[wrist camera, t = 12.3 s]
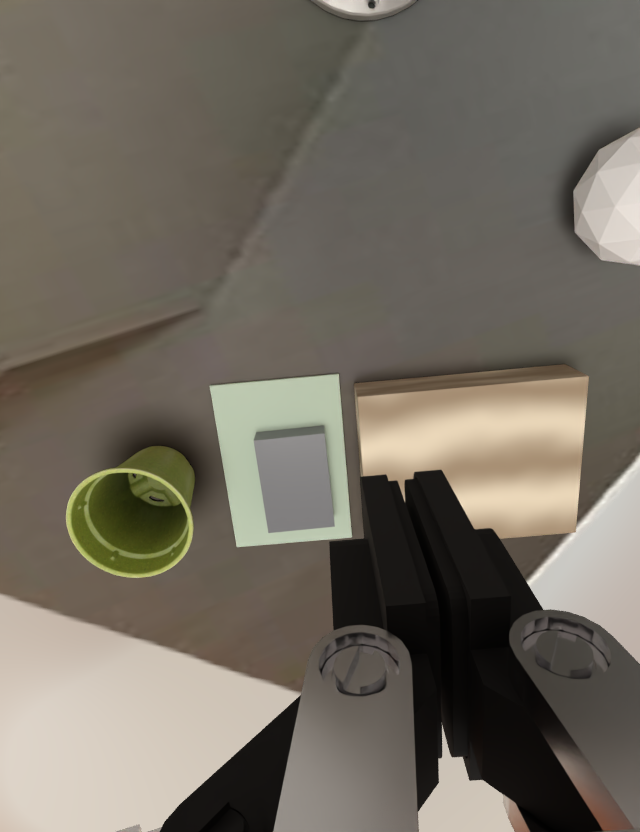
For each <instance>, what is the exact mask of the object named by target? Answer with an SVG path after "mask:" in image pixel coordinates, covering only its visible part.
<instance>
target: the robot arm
mask: <svg viewBox="0 0 640 832" xmlns="http://www.w3.org/2000/svg"><path fill="white" fill-rule="evenodd" d="M311 1H312V2H314V3H315V4H316V5H318V6H319V7H321V8H322V9H324V10H325V11H327V12H329V13H332V14H334V15H336V16H339V17H341V18H346V19H352V20H357V21H366V20H378V19H382V18H385V17H389V16H392V15H395V14H397V13H399V12H400V11H402V10H404V9H406V8H408V7H410V6H411V5H412V4H414V3H415V2H416V1H417V0H311ZM370 2H372V3H374V5H375V8H374V9H371V8H369V7H368V4H369V3H370ZM360 486H361V500H362V514H363V528H364V539H354V540H342V541H331V542H329V544H330V565H331V585H332V606H333V626H334V631H332V632H331V633H329V634H328V635H326V636H324V637H323V638H322V639H321V640H320V641H319V642H318V643H317V644H316V645H315V647H314V648H313V650H312V652H311V654H310V657H309V659H308V664H307V669H306V673H305V678H304V683H303V688H302V693H301V695H300V696H299V697H298V698H297V699H296V700H295V701H294V702H293V703H292V704H290V705H289V706H288V707H287V708H286V709H285V710H284V711H283V712H282V713H281V714H279V715H278V716H277V717H276V718H275V719H274V720H273V721H272V722H271V723H269V724H268V725H267V726H266V727H265V728H264V729H263V730H262V731H261V732H260V733H258V734H257V735H256V736H255V737H254V738H253V739H252V740H251V741H250V742H249V743H247V744H246V745H245V746H244V747H243V748H242V749H241V750H240V751H239V752H237V753H236V754H235V755H234V756H233V757H232V758H231V759H230V760H229V761H227V762H226V763H225V764H224V765H223V766H222V767H221V768H220V769H219V770H217V771H216V772H215V773H214V774H213V775H212V776H211V777H210V778H209V779H208V780H206V781H205V782H204V783H203V784H202V785H201V786H200V787H199V788H198V789H197V790H195V791H194V792H193V793H192V794H191V795H190V796H189V797H188V798H187V799H185V800H184V801H183V802H182V803H181V804H180V805H179V806H178V807H177V808H176V810H175V811H174V812H173V813H172V814H171V815H170V816H169V817H168V819H167V820H166V821H165V822H164V824H163V826H162V827H161V828H158V829H155V830H152V831H149V832H419V829H418V811H419V810H420V808H421V807H422V805H423V804H424V803H425V801H426V800H427V798H428V797H429V796H430V794H431V793H432V791H433V790H434V788H435V787H436V786H437V784H438V783H439V778H438V758H442V725H443V729H444V732H445V736H446V739H447V744H448V748H449V751H450V754H451V756H452V757H463V759H464V763H465V766H466V770H467V773H468V776H469V780H470V781H471V780H484V781H486V782H487V783H488V784H489V785H491V786H492V787H494V788H495V789H496V790H498V791H499V792H501V793H502V794H503V796H504V798H503V802H504V806H505V809H506V812H507V815H508V818H509V820H510V823H511V825H512V827H513V829H514V831H515V832H640V664H639V663H638V662H637V661H636V660H635V659H634V658H633V657H632V656H631V655H630V654H629V653H628V651H627V650H625V649H624V647H622V645H621V644H620V643H619V642H618V641H617V640H616V639H615V638H614V637H613V636H612V635H611V634H609V633H608V632H607V631H606V630H605V629H603V628H602V627H601V626H600V625H598V624H596V623H594V622H592V621H590V620H588V619H587V618H585V617H582V616H579V615H576V614H573V613H570V612H564V611H557V610H543V609H542V607H541V605H540V604H539V602H538V600H537V599H536V597H535V596H534V594H533V592H532V591H531V589H530V587H529V586H528V584H527V582H526V581H525V579H524V578H523V576H522V574H521V573H520V571H519V569H518V568H517V566H516V565H515V563H514V561H513V560H512V558H511V556H510V555H509V553H508V552H507V550H506V548H505V547H504V545H503V544H502V542H501V540H500V539H499V537H498V535H497V534H496V532H495V531H494V530H493V529H491V528H484V529H474V527H473V526H472V524H471V522H470V520H469V518H468V517H467V515H466V513H465V511H464V509H463V507H462V506H461V504H460V502H459V500H458V498H457V497H456V495H455V493H454V491H453V489H452V487H451V486H450V484H449V482H448V480H447V478H446V477H445V475H444V473H443V471H442V470H431V471H419V472H414V476H413V479H407V480H405V483H404V488H405V501H404V498H403V495H402V492H401V489H400V486H399V483H398V481H397V480H395V481H388V478H387V475H386V474H385V475H373V476H362V477H360ZM117 832H141V828H140V825H136V826H133V827H130V828H126V829H123V830H120V831H117Z"/></svg>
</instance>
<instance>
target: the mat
mask: <svg viewBox="0 0 640 832" xmlns="http://www.w3.org/2000/svg"><path fill="white" fill-rule="evenodd" d="M210 390H211V396H212V402H213V408H214V414H215V420H216V426H217V432H218V438H219V444H220V450H221V456H222V462H223V468H224V474H225V480H226V485H227V491H228V497H229V503H230V509H231V515H232V521H233V527H234V533H235V539H236V545H237V547H244V546H256V545H267V544H279V543H291V542H303V541H315V540H326V539H338V538H350V537H352V532H351V520H350V508H349V495H348V483H347V471H346V459H345V446H344V434H343V422H342V410H341V397H340V385H339V374H327V375H316V376H305V377H294V378H283V379H272V380H261V381H250V382H239V383H228V384H217V385H210ZM321 425H324V429H325V439H326V448H327V457H328V466H329V475H330V484H331V493H332V502H333V511H334V522H335V527H326V528H316V529H306V530H295V531H285V532H275V533H268V528H267V521H266V515H265V509H264V503H263V496H262V490H261V484H260V478H259V472H258V465H257V459H256V453H255V447H254V438H255V434H256V432H263V431H273V430H283V429H292V428H302V427H312V426H321Z"/></svg>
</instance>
